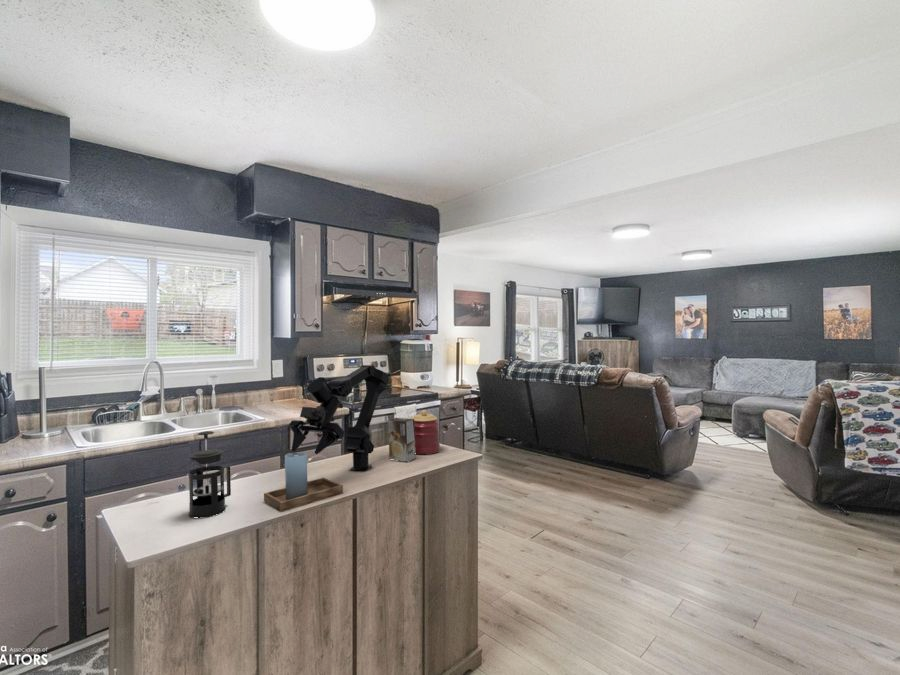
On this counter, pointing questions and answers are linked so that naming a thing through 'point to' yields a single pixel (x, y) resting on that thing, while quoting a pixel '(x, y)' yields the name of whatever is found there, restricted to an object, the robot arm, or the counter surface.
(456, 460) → the counter surface
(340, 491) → the tray
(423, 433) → the canister
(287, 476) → the cup
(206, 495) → the french press
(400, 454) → the coffee box
